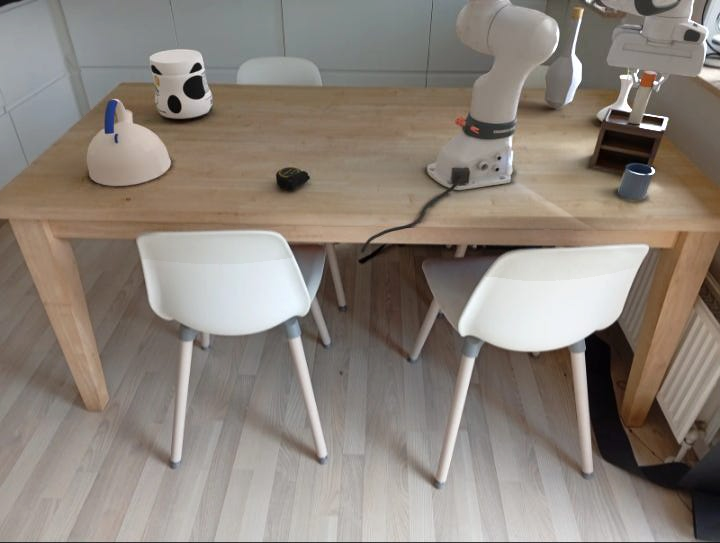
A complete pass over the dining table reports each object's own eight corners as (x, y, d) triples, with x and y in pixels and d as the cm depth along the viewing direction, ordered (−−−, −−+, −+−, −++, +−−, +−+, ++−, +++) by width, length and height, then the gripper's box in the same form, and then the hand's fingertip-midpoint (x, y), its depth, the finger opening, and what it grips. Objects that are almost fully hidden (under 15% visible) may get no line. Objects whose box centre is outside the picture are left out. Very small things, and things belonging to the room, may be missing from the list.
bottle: (576, 116, 170) (602, 13, 152) (540, 113, 172) (561, 11, 154) (571, 103, 179) (595, 5, 161) (537, 101, 180) (556, 3, 162)
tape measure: (291, 195, 129) (290, 181, 127) (271, 187, 132) (269, 173, 130) (310, 184, 134) (309, 171, 131) (290, 177, 137) (289, 163, 135)
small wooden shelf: (647, 180, 135) (664, 130, 127) (589, 168, 141) (602, 119, 133) (651, 166, 141) (668, 117, 133) (595, 155, 147) (609, 107, 139)
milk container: (149, 113, 172) (135, 55, 161) (198, 101, 181) (187, 45, 171) (174, 129, 162) (161, 68, 151) (225, 115, 171) (215, 56, 160)
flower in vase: (636, 132, 160) (665, 43, 145) (596, 127, 163) (619, 39, 148) (633, 116, 170) (660, 32, 155) (595, 112, 173) (617, 29, 158)
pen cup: (632, 204, 125) (642, 177, 121) (611, 193, 130) (619, 166, 126) (650, 198, 128) (660, 171, 124) (629, 187, 132) (638, 161, 128)
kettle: (175, 149, 150) (160, 84, 139) (166, 183, 134) (149, 112, 123) (99, 154, 148) (78, 88, 137) (81, 190, 131) (55, 118, 120)
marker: (635, 124, 132) (651, 75, 125) (625, 120, 134) (640, 71, 127) (643, 122, 133) (659, 73, 126) (633, 118, 135) (649, 69, 128)
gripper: (613, 25, 122) (597, 86, 131) (714, 36, 114) (690, 100, 123) (617, 19, 127) (601, 79, 135) (715, 29, 119) (692, 92, 127)
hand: (644, 89), depth 129 cm, fingers closed on marker, 3 cm apart
